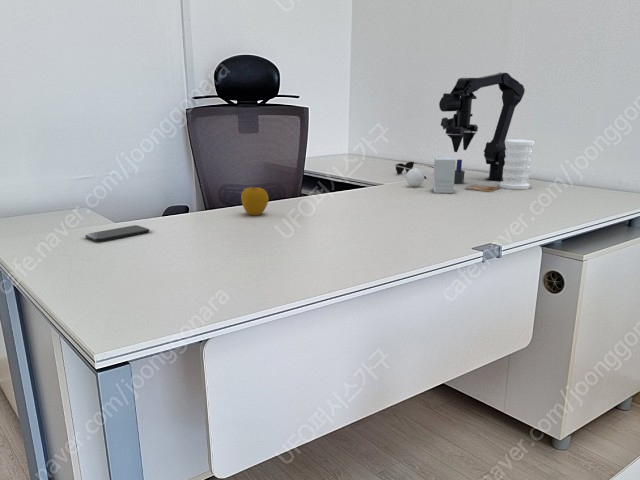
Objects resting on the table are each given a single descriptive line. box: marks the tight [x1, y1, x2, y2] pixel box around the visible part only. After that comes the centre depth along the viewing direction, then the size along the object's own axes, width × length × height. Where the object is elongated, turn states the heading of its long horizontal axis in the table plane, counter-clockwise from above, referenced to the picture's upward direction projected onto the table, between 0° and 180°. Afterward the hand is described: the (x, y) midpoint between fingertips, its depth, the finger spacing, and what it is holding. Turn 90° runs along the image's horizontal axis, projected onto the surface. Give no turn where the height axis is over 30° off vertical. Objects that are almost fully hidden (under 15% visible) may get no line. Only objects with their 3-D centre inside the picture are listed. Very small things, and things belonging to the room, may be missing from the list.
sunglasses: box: [394, 161, 434, 180], centre depth 265 cm, size 14×16×5 cm
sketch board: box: [465, 184, 500, 193], centre depth 234 cm, size 10×10×1 cm
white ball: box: [405, 167, 425, 187], centre depth 238 cm, size 10×7×7 cm
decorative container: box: [499, 138, 535, 190], centre depth 235 cm, size 12×12×18 cm
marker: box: [455, 158, 463, 172], centre depth 245 cm, size 2×2×9 cm
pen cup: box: [454, 169, 465, 185], centre depth 246 cm, size 5×5×5 cm
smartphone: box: [84, 224, 150, 242], centre depth 164 cm, size 8×1×16 cm
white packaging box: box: [432, 156, 457, 194], centre depth 226 cm, size 7×7×13 cm
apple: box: [240, 186, 270, 217], centre depth 188 cm, size 9×8×9 cm
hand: (460, 151), depth 242 cm, fingers open, 9 cm apart
